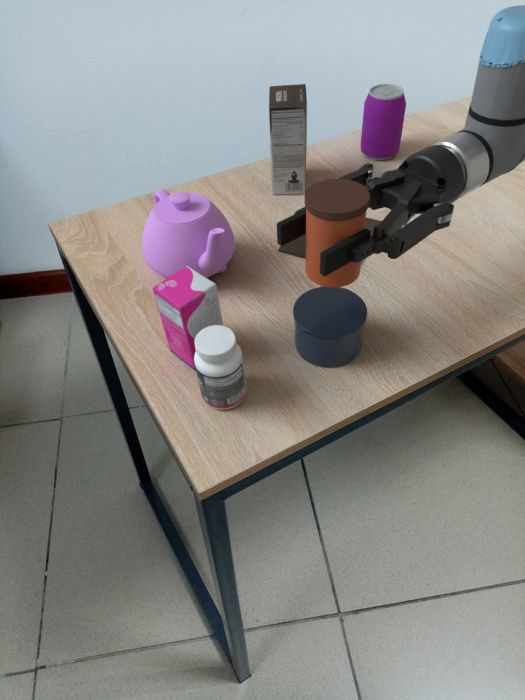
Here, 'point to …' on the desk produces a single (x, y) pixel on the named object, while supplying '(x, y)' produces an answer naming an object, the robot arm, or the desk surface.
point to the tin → (329, 326)
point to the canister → (333, 225)
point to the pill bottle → (219, 367)
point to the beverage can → (383, 121)
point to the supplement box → (187, 310)
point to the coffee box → (288, 138)
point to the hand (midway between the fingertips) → (300, 249)
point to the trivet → (299, 244)
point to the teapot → (186, 235)
